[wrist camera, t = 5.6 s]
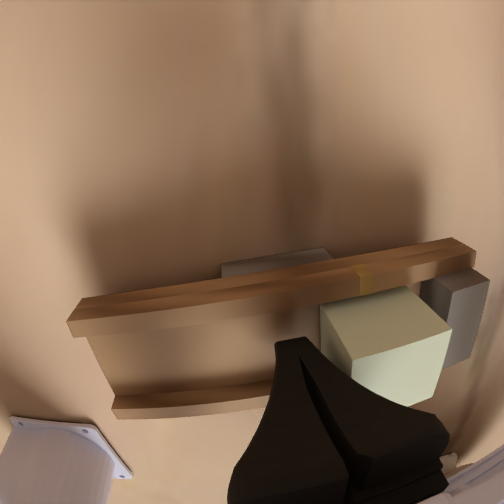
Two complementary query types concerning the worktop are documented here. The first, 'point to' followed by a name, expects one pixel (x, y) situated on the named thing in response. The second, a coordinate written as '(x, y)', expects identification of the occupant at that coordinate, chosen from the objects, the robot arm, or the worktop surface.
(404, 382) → the block
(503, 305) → the worktop surface
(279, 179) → the worktop surface
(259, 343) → the beam
